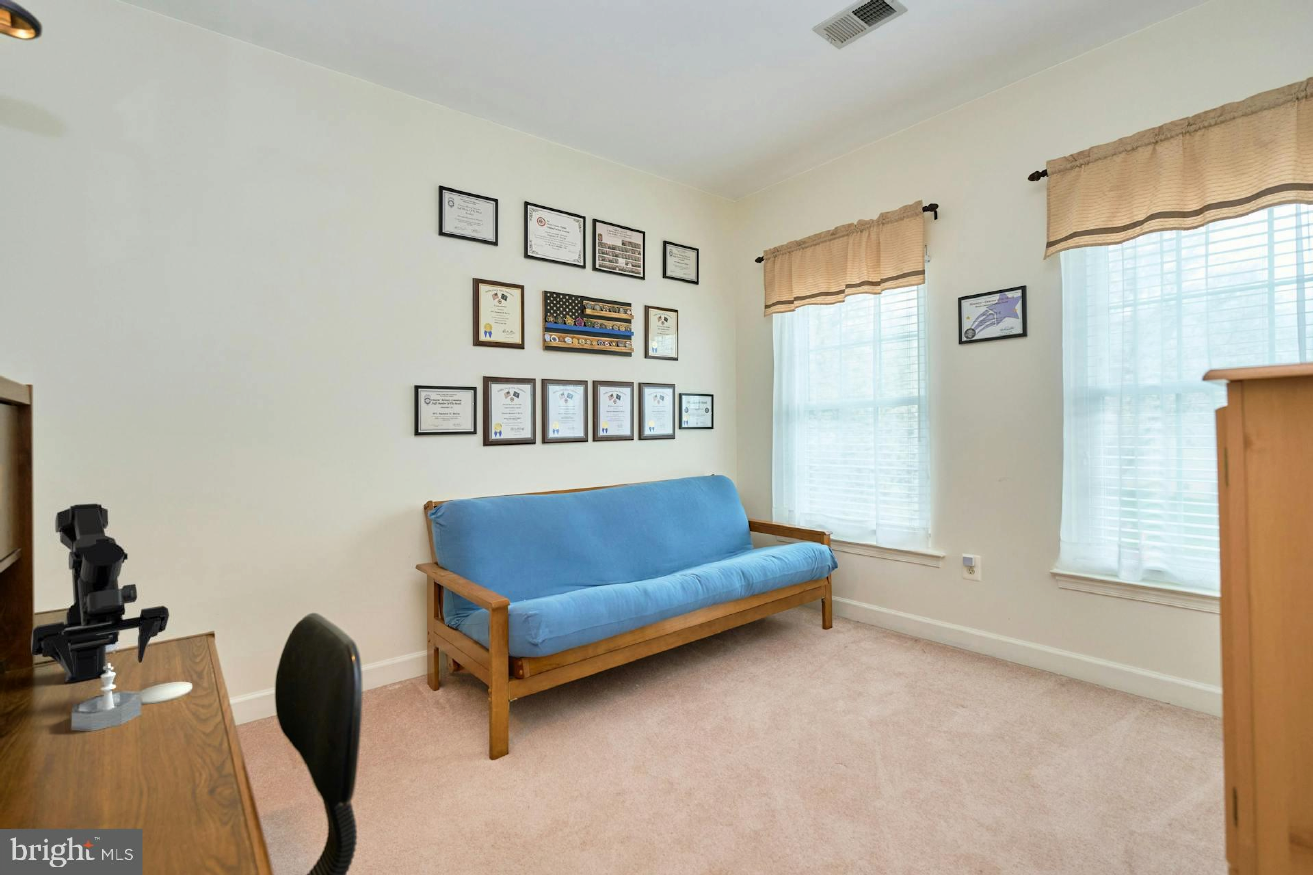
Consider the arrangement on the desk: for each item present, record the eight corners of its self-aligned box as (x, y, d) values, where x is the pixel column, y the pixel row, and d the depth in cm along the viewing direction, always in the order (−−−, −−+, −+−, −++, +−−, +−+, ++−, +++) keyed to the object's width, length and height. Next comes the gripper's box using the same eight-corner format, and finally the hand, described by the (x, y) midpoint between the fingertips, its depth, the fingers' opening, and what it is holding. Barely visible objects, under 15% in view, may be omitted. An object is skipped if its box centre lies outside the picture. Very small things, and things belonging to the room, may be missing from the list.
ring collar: (74, 716, 109) (74, 700, 109) (141, 702, 115) (141, 687, 115) (70, 735, 102) (70, 718, 102) (141, 719, 108) (141, 703, 108)
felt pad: (133, 692, 119) (133, 689, 119) (190, 681, 125) (190, 678, 125) (133, 708, 112) (133, 704, 112) (193, 694, 118) (193, 691, 118)
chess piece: (103, 726, 105) (104, 669, 105) (81, 723, 106) (82, 667, 106) (133, 713, 110) (133, 659, 110) (111, 711, 111) (112, 657, 111)
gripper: (33, 580, 105) (36, 658, 98) (167, 564, 119) (179, 631, 112) (29, 617, 110) (32, 693, 103) (159, 597, 124) (170, 663, 117)
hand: (107, 668), depth 109 cm, fingers open, 9 cm apart
